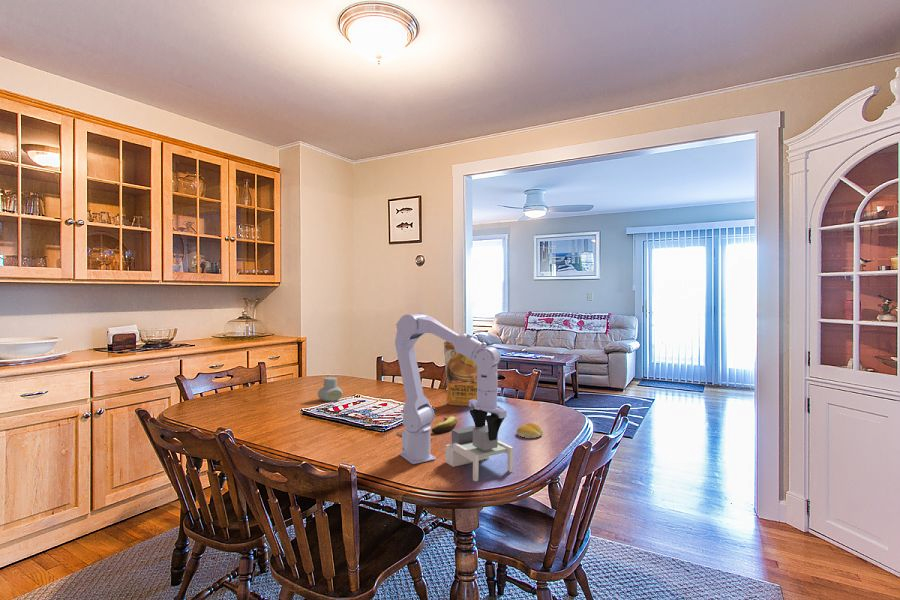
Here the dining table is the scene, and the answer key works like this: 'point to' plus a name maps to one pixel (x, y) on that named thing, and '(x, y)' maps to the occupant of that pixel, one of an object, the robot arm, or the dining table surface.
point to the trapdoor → (466, 440)
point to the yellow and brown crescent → (441, 427)
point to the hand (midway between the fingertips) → (486, 437)
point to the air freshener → (330, 390)
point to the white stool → (472, 457)
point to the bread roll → (530, 431)
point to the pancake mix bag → (459, 377)
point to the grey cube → (483, 438)
